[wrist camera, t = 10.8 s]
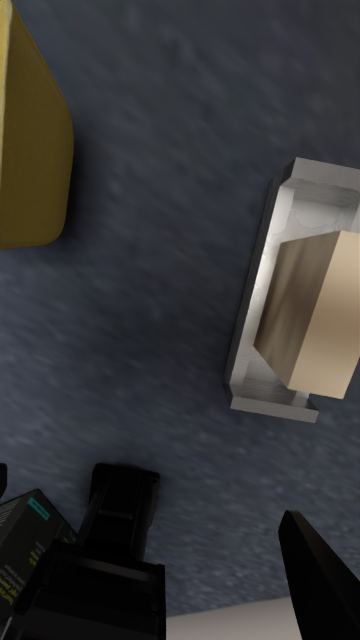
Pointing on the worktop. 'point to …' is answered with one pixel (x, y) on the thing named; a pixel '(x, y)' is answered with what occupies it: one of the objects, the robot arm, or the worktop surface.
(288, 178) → the bottom track
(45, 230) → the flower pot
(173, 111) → the worktop surface
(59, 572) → the robot arm
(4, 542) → the tampon box
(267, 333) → the door panel
